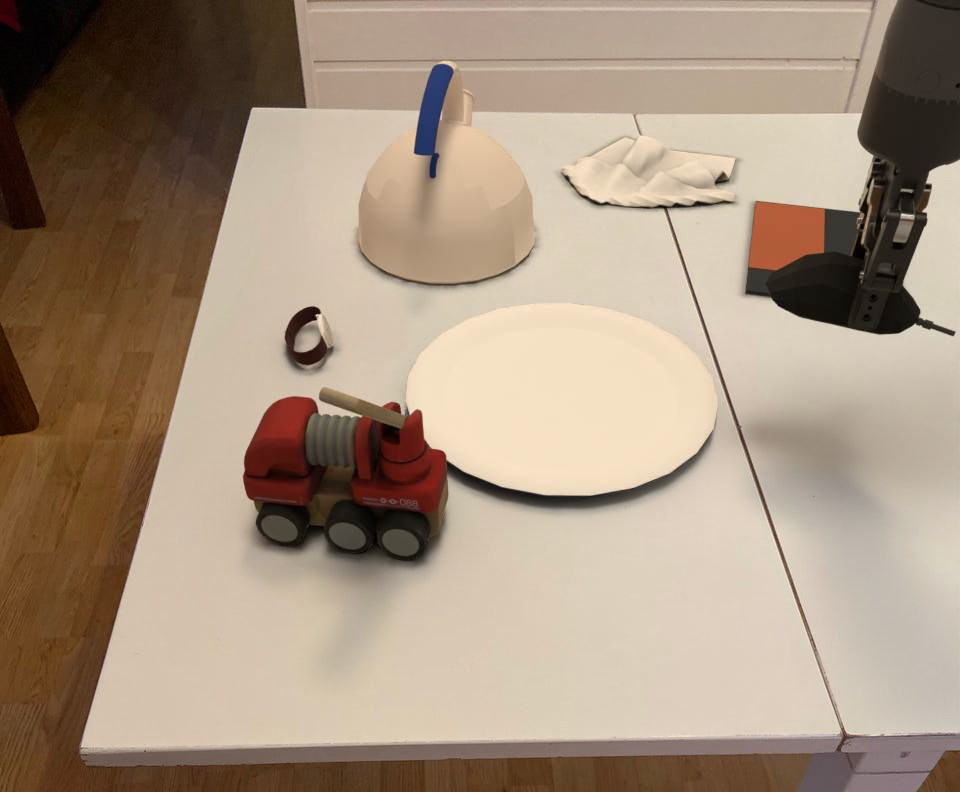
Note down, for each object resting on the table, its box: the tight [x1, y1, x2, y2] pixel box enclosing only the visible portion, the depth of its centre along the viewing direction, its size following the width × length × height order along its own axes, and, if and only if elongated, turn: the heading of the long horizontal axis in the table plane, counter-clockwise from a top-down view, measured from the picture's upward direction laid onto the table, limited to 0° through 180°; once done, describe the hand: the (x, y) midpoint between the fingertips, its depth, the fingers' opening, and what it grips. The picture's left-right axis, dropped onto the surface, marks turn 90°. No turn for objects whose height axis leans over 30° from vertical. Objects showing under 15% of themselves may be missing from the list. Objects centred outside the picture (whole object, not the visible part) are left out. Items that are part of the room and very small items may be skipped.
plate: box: [405, 302, 720, 498], centre depth 90 cm, size 29×29×2 cm
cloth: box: [560, 134, 736, 208], centre depth 118 cm, size 20×22×2 cm
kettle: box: [357, 60, 536, 285], centre depth 103 cm, size 20×21×18 cm
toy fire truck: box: [242, 386, 449, 561], centre depth 73 cm, size 11×16×18 cm
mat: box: [744, 200, 892, 297], centre depth 108 cm, size 16×20×1 cm
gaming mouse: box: [765, 252, 957, 337], centre depth 74 cm, size 6×15×4 cm, turn 63°
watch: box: [284, 305, 335, 366], centre depth 95 cm, size 8×5×4 cm, turn 7°
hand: (859, 301), depth 75 cm, fingers closed on gaming mouse, 6 cm apart
